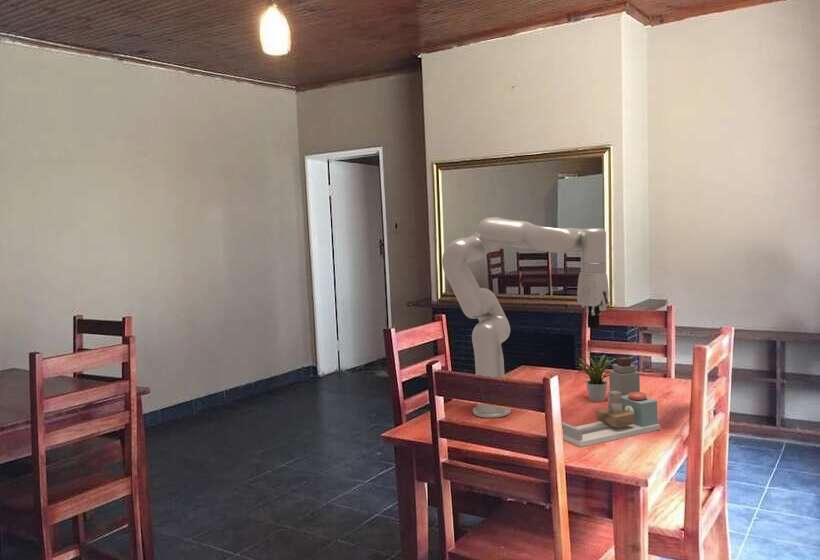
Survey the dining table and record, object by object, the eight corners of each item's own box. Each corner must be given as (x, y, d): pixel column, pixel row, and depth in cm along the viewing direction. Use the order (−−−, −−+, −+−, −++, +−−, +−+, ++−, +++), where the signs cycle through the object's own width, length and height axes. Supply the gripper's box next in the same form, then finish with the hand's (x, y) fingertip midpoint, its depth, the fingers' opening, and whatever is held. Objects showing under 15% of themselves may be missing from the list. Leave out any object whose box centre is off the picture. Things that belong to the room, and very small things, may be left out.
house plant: (617, 393, 244) (616, 348, 243) (625, 404, 231) (624, 356, 229) (576, 394, 246) (575, 350, 244) (582, 405, 232) (581, 358, 231)
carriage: (596, 420, 206) (595, 390, 205) (614, 416, 208) (613, 387, 208) (616, 427, 197) (615, 397, 197) (635, 423, 200) (634, 393, 199)
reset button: (624, 403, 207) (624, 393, 207) (638, 400, 209) (637, 390, 209) (636, 406, 203) (636, 397, 202) (650, 404, 205) (650, 394, 204)
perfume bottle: (621, 416, 217) (620, 361, 215) (610, 411, 223) (608, 357, 222) (640, 414, 219) (639, 359, 217) (628, 408, 225) (626, 355, 224)
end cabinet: (617, 419, 210) (617, 396, 209) (633, 415, 212) (633, 393, 212) (640, 427, 201) (640, 404, 200) (657, 423, 203) (657, 400, 203)
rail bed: (555, 435, 202) (554, 420, 201) (631, 419, 213) (631, 405, 213) (581, 447, 191) (580, 431, 190) (660, 429, 202) (659, 414, 202)
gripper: (568, 267, 214) (568, 325, 216) (599, 270, 201) (599, 332, 202) (587, 266, 217) (587, 323, 219) (619, 269, 204) (619, 329, 205)
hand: (593, 327), depth 211 cm, fingers closed
